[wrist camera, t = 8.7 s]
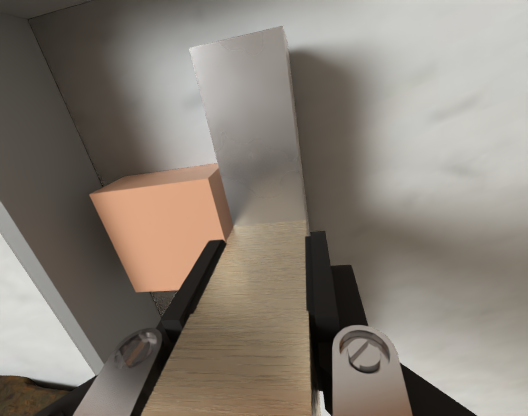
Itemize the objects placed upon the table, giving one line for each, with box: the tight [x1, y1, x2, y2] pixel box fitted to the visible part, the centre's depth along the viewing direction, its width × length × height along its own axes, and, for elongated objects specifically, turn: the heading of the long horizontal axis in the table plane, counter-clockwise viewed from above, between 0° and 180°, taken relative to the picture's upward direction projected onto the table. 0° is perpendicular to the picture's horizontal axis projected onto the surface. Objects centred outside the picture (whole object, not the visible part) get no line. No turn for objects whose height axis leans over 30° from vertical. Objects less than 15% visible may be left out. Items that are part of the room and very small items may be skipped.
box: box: [0, 0, 161, 375], centre depth 13 cm, size 11×24×5 cm, turn 10°
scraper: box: [141, 26, 321, 416], centre depth 9 cm, size 3×16×10 cm, turn 10°
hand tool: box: [0, 376, 71, 416], centre depth 24 cm, size 19×4×5 cm, turn 86°
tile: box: [89, 163, 233, 292], centre depth 14 cm, size 6×6×3 cm
